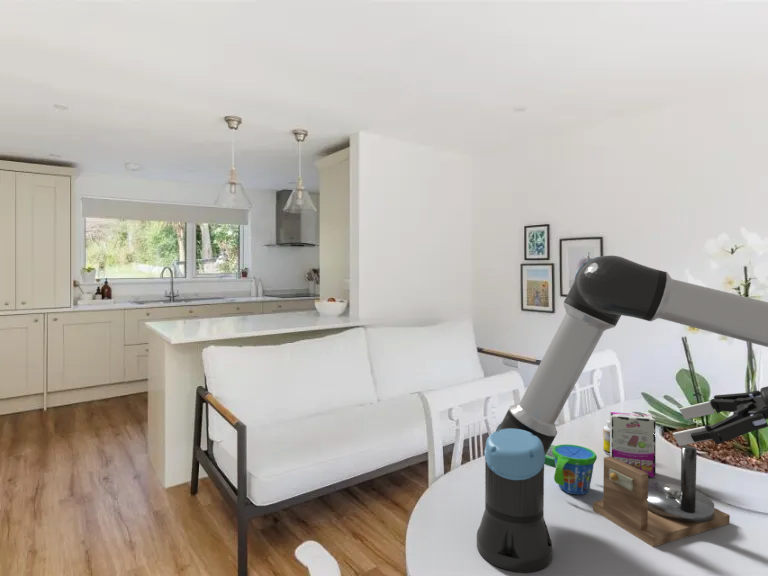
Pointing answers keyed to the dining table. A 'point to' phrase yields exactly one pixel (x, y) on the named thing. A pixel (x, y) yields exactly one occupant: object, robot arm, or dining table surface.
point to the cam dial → (681, 494)
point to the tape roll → (550, 457)
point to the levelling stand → (643, 507)
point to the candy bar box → (633, 440)
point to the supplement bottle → (607, 438)
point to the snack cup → (573, 468)
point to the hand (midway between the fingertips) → (679, 426)
